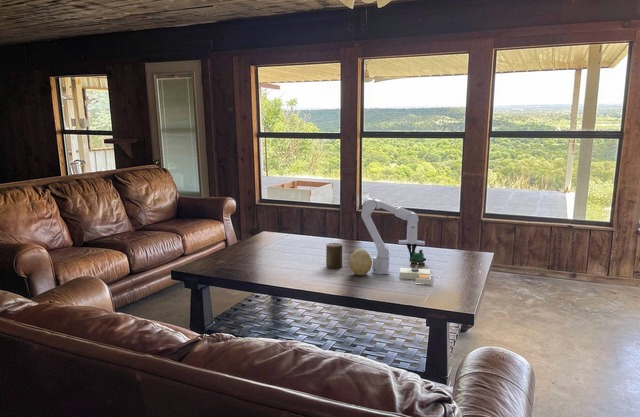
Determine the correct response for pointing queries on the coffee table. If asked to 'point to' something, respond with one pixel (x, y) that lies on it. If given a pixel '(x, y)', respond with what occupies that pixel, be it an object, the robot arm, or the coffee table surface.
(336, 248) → the pillar candle
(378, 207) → the robot arm
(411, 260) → the binoculars
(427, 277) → the chute block
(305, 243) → the coffee table surface
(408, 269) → the white notched block
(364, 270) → the fossilized egg
